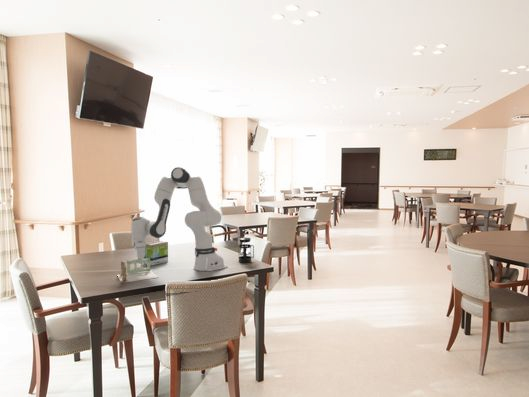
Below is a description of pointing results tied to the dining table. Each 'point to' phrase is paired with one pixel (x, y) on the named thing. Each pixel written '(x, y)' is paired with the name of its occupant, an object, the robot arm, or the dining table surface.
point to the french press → (245, 258)
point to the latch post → (124, 275)
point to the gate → (136, 267)
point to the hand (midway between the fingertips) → (139, 263)
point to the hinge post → (122, 266)
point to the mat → (139, 276)
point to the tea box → (156, 252)
